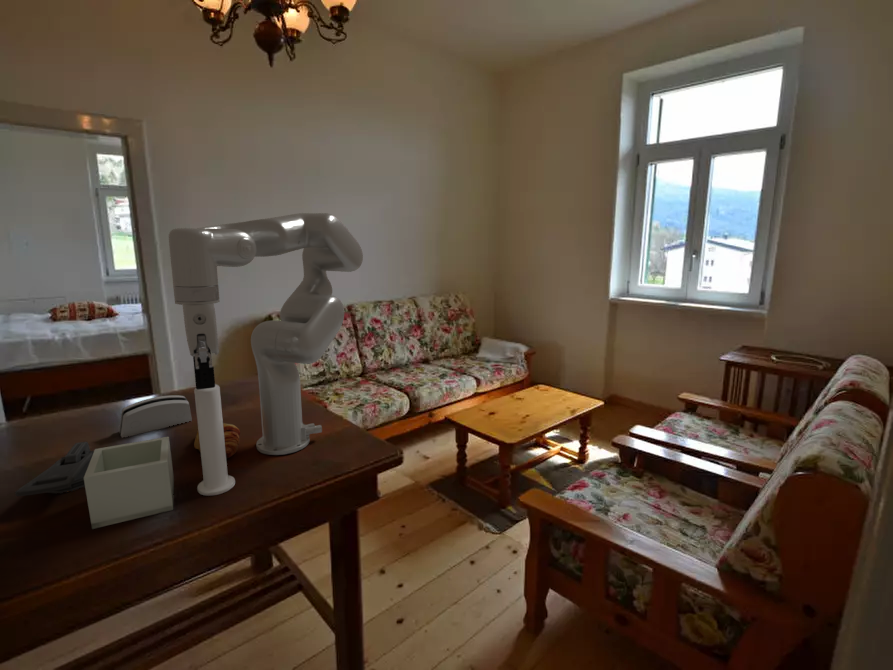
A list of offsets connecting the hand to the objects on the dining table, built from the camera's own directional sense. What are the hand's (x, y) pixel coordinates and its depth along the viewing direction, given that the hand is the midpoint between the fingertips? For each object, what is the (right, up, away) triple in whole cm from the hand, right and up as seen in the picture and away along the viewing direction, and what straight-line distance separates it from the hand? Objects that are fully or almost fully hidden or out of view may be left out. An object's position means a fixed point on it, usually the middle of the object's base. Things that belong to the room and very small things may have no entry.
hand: (204, 381), depth 90 cm
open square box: (-13, -24, -1) cm, 27 cm away
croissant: (-9, -19, +23) cm, 31 cm away
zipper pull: (-30, -23, +4) cm, 38 cm away
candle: (0, -23, +5) cm, 23 cm away
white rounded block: (-30, -16, +33) cm, 48 cm away
